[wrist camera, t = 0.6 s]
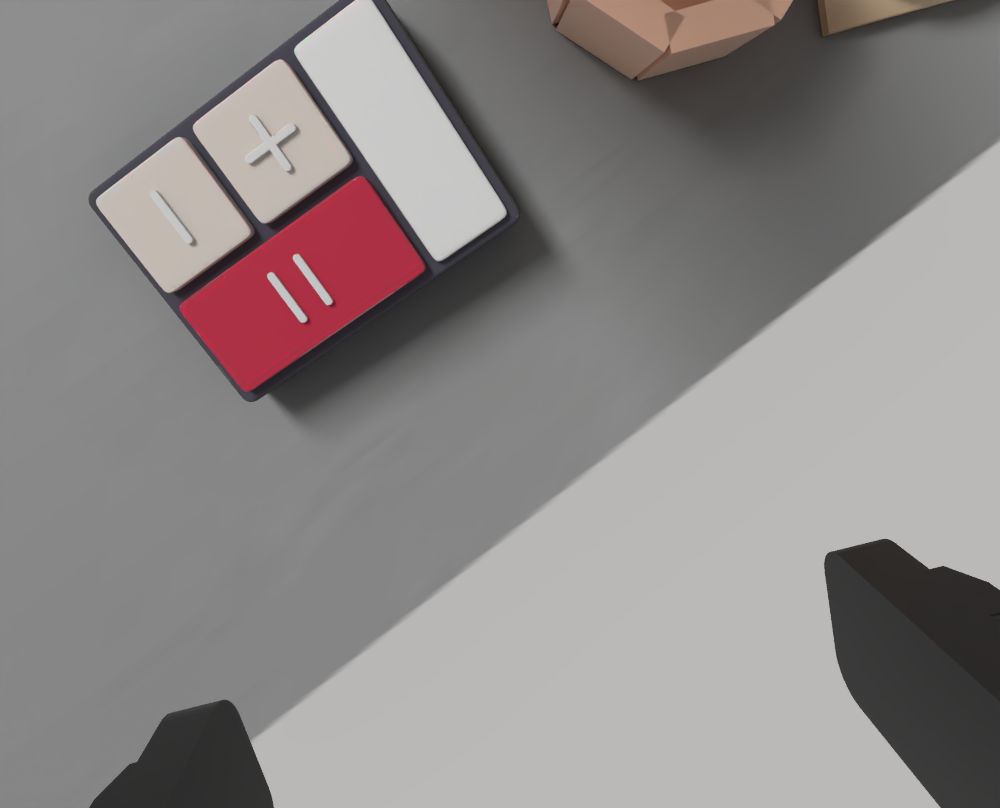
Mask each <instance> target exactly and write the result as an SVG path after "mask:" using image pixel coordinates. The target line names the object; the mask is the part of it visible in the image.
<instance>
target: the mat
mask: <svg viewBox="0 0 1000 808" xmlns="http://www.w3.org/2000/svg"><path fill="white" fill-rule="evenodd" d="M949 1H953V0H818V7H819V14H820V22H821V29H822V36H827V35H831V34H834V33H838V32H841V31H845V30H849V29H852V28H856V27H859V26H863V25H867V24H870V23H874V22H877V21H881V20H885V19H888V18H892V17H895V16H899V15H903V14H906V13H910V12H913V11H917V10H920V9H924V8H928V7H931V6H935V5H938V4H942V3H946V2H949Z"/></svg>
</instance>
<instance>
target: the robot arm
mask: <svg viewBox="0 0 1000 808" xmlns="http://www.w3.org/2000/svg"><path fill="white" fill-rule="evenodd" d="M824 565H825V566H824V568H825V576H826V584H827V591H828V599H829V606H830V613H831V620H832V627H833V635H834V642H835V650H836V656H837V660H838V664H839V667H840V670H841V673H842V676H843V678H844V681H845V683H846V685H847V687H848V689H849V691H850V693H851V695H852V696H853V698H854V700H855V701H856V703H857V704H858V705H859V707H860V708H861V709H862V710H863V712H864V713H865V714H866V716H867V717H868V718H869V719H870V720H871V722H872V723H873V724H874V725H875V727H876V728H877V729H878V730H879V732H880V733H881V734H882V735H883V736H884V738H885V739H886V740H887V741H888V743H889V744H890V745H891V747H892V748H893V749H894V750H895V752H896V753H897V754H898V755H899V756H900V758H901V759H902V760H903V761H904V763H905V764H906V765H907V766H908V768H909V769H910V770H911V771H912V772H913V774H914V775H915V776H916V778H917V779H918V780H919V781H920V782H921V784H922V785H923V786H924V787H925V789H926V790H927V791H928V792H929V794H930V795H931V796H932V797H933V799H934V800H935V801H936V802H937V804H938V805H939V806H940V807H941V808H1000V590H999V589H997V588H996V587H994V586H993V585H991V584H990V583H989V582H986V581H983V580H980V579H978V578H975V577H972V576H969V575H966V574H964V573H961V572H958V571H955V570H953V569H950V568H947V567H944V566H942V567H937V568H933V569H928V568H927V567H926V566H924V565H923V564H922V563H920V562H919V561H918V560H917V559H915V558H914V557H913V556H911V555H910V554H909V553H907V552H906V551H905V550H903V549H902V548H901V547H900V546H898V545H897V544H896V543H894V542H893V541H891V540H888V539H882V540H878V541H873V542H869V543H865V544H861V545H857V546H853V547H849V548H845V549H841V550H837V551H833V552H829V553H828V554H827V555H826V557H825V563H824ZM89 808H274V807H273V801H272V797H271V793H270V790H269V787H268V785H267V782H266V780H265V777H264V775H263V772H262V770H261V767H260V765H259V762H258V760H257V757H256V755H255V753H254V750H253V747H252V745H251V742H250V740H249V737H248V735H247V732H246V730H245V727H244V725H243V722H242V720H241V717H240V715H239V713H238V711H237V709H236V707H235V706H234V705H233V704H232V703H231V702H230V701H228V700H221V701H217V702H213V703H209V704H205V705H201V706H197V707H193V708H189V709H185V710H181V711H177V712H172V713H169V714H167V715H166V716H165V717H164V718H163V719H162V721H161V722H160V724H159V726H158V727H157V729H156V731H155V732H154V734H153V736H152V738H151V739H150V741H149V743H148V744H147V746H146V748H145V750H144V751H143V753H142V755H141V756H140V758H139V760H138V761H137V762H136V763H132V764H129V765H128V766H127V767H126V768H125V769H124V770H123V771H122V772H121V773H120V774H119V775H118V776H117V777H116V778H115V779H114V780H113V781H112V782H111V783H110V784H109V785H108V786H107V787H106V788H105V789H104V790H103V791H102V792H101V793H100V794H99V795H98V796H97V797H96V798H95V799H94V801H93V803H92V804H91V806H90V807H89Z"/></svg>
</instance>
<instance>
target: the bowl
mask: <svg viewBox="0 0 1000 808" xmlns="http://www.w3.org/2000/svg"><path fill="white" fill-rule="evenodd" d="M792 1H793V0H547V4H548V9H549V13H550V18H551V22H552V24H555V23H559V24H558V27H557V29H556V30H557V31H558V32H560V33H561V34H563V35H564V36H566V37H567V38H569V39H570V40H572V41H573V42H575V43H576V44H578V45H579V46H581V47H582V48H584V49H585V50H587V51H588V52H590V53H592V54H593V55H595V56H596V57H598V58H599V59H601V60H602V61H604V62H605V63H607V64H608V65H610V66H611V67H613V68H614V69H616V70H617V71H619V72H620V73H622V74H623V75H625V76H627V77H628V78H630V79H631V80H632V79H633V78H634V77H636V76H637V80H638V81H639V80H642V79H646V78H650V77H653V76H657V75H660V74H664V73H667V72H671V71H675V70H678V69H682V68H685V67H689V66H693V65H696V64H700V63H703V62H707V61H711V60H714V59H718V58H721V57H724V56H726V55H728V54H729V53H731V52H732V51H734V50H736V49H737V48H739V47H740V46H742V45H744V44H745V43H747V42H748V41H750V40H752V39H753V38H755V37H756V36H758V35H760V34H761V33H763V32H764V31H766V30H768V29H769V28H771V27H772V26H774V25H775V24H776V23H777V22H779V21H780V20H781V19H782V18H783V16H784V15H785V13H786V11H787V10H788V8H789V6H790V5H791V3H792Z"/></svg>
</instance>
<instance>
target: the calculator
mask: <svg viewBox="0 0 1000 808" xmlns="http://www.w3.org/2000/svg"><path fill="white" fill-rule="evenodd" d="M89 204H90V206H91V207H92V209H93V210H94V211H95V212H96V214H97V215H98V216H99V218H100V219H101V220H102V221H103V223H104V224H105V225H106V226H107V228H108V229H109V230H110V231H111V233H112V234H113V235H114V236H115V238H116V239H117V240H118V242H119V243H120V244H121V245H122V247H123V248H124V249H125V250H126V252H127V253H128V254H129V255H130V257H131V258H132V259H133V260H134V262H135V263H136V264H137V265H138V267H139V268H140V269H141V271H142V272H143V273H144V274H145V276H146V277H147V278H148V279H149V281H150V282H151V283H152V284H153V286H154V287H155V288H156V289H157V291H158V292H159V293H160V294H161V296H162V297H163V298H164V300H165V301H166V302H167V303H168V305H169V306H170V307H171V308H172V310H173V311H174V312H175V313H176V315H177V316H178V317H179V318H180V320H181V321H182V322H183V323H184V325H185V326H186V327H187V329H188V330H189V331H190V332H191V334H192V335H193V336H194V337H195V339H196V340H197V341H198V342H199V344H200V345H201V346H202V347H203V349H204V350H205V351H206V352H207V354H208V355H209V356H210V358H211V359H212V360H213V361H214V363H215V364H216V365H217V366H218V368H219V369H220V370H221V371H222V373H223V374H224V375H225V376H226V378H227V379H228V380H229V381H230V383H231V384H232V385H233V387H234V388H235V389H236V390H237V392H238V393H239V394H240V395H241V396H242V398H243V399H244V400H246V401H249V402H254V401H256V400H258V399H260V398H261V397H263V396H264V395H266V394H267V393H269V392H270V391H272V390H273V389H274V388H276V387H277V386H279V385H280V384H282V383H283V382H285V381H286V380H288V379H289V378H291V377H292V376H293V375H295V374H296V373H298V372H299V371H301V370H302V369H304V368H305V367H307V366H308V365H309V364H311V363H312V362H314V361H315V360H317V359H318V358H320V357H321V356H323V355H324V354H326V353H327V352H328V351H330V350H331V349H333V348H334V347H336V346H337V345H339V344H340V343H342V342H343V341H345V340H346V339H347V338H349V337H350V336H352V335H353V334H355V333H356V332H358V331H359V330H361V329H362V328H364V327H365V326H366V325H368V324H369V323H371V322H372V321H374V320H375V319H377V318H378V317H380V316H381V315H383V314H384V313H385V312H387V311H388V310H390V309H391V308H393V307H394V306H396V305H397V304H399V303H400V302H402V301H403V300H404V299H406V298H407V297H409V296H410V295H412V294H413V293H415V292H416V291H418V290H419V289H421V288H422V287H423V286H425V285H426V284H428V283H429V282H431V281H432V280H434V279H435V278H437V277H438V276H440V275H441V274H442V273H444V272H445V271H447V270H448V269H450V268H451V267H453V266H454V265H456V264H457V263H459V262H460V261H461V260H463V259H464V258H466V257H467V256H469V255H470V254H472V253H473V252H475V251H476V250H478V249H479V248H480V247H482V246H483V245H485V244H486V243H488V242H489V241H491V240H492V239H494V238H495V237H497V236H498V235H499V234H501V233H502V232H504V231H505V230H507V229H508V228H510V227H511V226H512V225H514V224H515V223H516V222H517V221H518V220H519V217H520V211H519V208H518V206H517V205H516V203H515V202H514V200H513V198H512V197H511V195H510V194H509V192H508V191H507V189H506V187H505V186H504V184H503V183H502V181H501V180H500V178H499V176H498V175H497V173H496V172H495V170H494V169H493V167H492V165H491V164H490V162H489V161H488V159H487V158H486V156H485V154H484V153H483V151H482V150H481V148H480V147H479V145H478V143H477V142H476V140H475V139H474V137H473V136H472V134H471V132H470V131H469V129H468V128H467V126H466V125H465V123H464V121H463V120H462V118H461V117H460V115H459V114H458V112H457V110H456V109H455V107H454V106H453V104H452V103H451V101H450V99H449V98H448V96H447V95H446V93H445V92H444V90H443V88H442V87H441V85H440V84H439V82H438V81H437V79H436V78H435V76H434V74H433V73H432V71H431V70H430V68H429V67H428V65H427V63H426V62H425V60H424V59H423V57H422V56H421V54H420V52H419V51H418V49H417V48H416V46H415V45H414V43H413V41H412V40H411V38H410V37H409V35H408V34H407V32H406V30H405V29H404V27H403V26H402V24H401V23H400V21H399V19H398V18H397V16H396V15H395V13H394V12H393V10H392V8H391V7H390V5H389V4H388V2H387V1H386V0H339V1H338V2H337V3H335V4H334V5H333V6H331V7H330V8H329V9H327V10H326V11H325V12H324V13H322V14H321V15H320V16H318V17H317V18H316V19H315V20H313V21H312V22H311V23H309V24H308V25H307V26H305V27H304V28H303V29H302V30H300V31H299V32H298V33H296V34H295V35H294V36H292V37H291V38H290V39H289V40H287V41H286V42H285V43H283V44H282V45H281V46H280V47H278V48H277V49H276V50H274V51H273V52H272V53H270V54H269V55H268V56H267V57H265V58H264V59H263V60H261V61H260V62H259V63H257V64H256V65H255V66H254V67H252V68H251V69H250V70H248V71H247V72H246V73H245V74H243V75H242V76H241V77H239V78H238V79H237V80H235V81H234V82H233V83H232V84H230V85H229V86H228V87H226V88H225V89H224V90H222V91H221V92H220V93H219V94H217V95H216V96H215V97H213V98H212V99H211V100H210V101H208V102H207V103H206V104H204V105H203V106H202V107H200V108H199V109H198V110H197V111H195V112H194V113H193V114H191V115H190V116H189V117H187V118H186V119H185V120H184V121H182V122H181V123H180V124H178V125H177V126H176V127H175V128H173V129H172V130H171V131H169V132H168V133H167V134H165V135H164V136H163V137H162V138H160V139H159V140H158V141H156V142H155V143H154V144H152V145H151V146H150V147H149V148H147V149H146V150H145V151H143V152H142V153H141V154H140V155H138V156H137V157H136V158H134V159H133V160H132V161H130V162H129V163H128V164H127V165H125V166H124V167H123V168H121V169H120V170H119V171H117V172H116V173H115V174H114V175H112V176H111V177H110V178H108V179H107V180H106V181H105V182H103V183H102V184H101V185H99V186H98V187H97V188H96V189H94V190H93V191H92V192H91V193H90V195H89Z"/></svg>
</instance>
